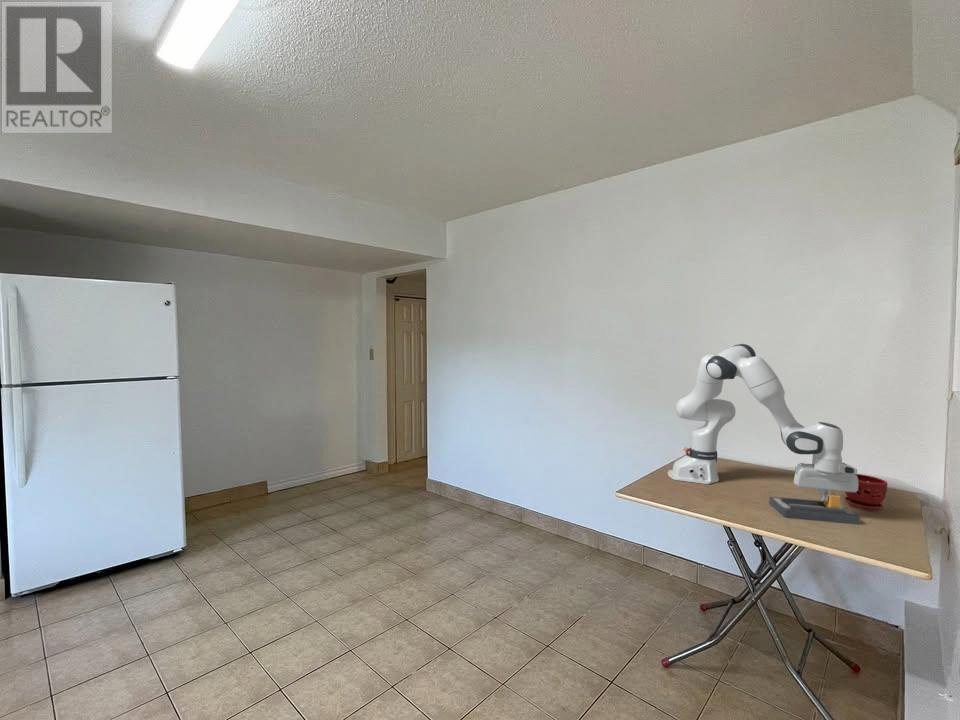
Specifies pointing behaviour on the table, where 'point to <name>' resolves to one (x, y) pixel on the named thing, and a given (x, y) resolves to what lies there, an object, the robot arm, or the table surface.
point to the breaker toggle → (833, 501)
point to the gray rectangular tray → (812, 510)
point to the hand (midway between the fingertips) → (824, 500)
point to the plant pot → (868, 493)
